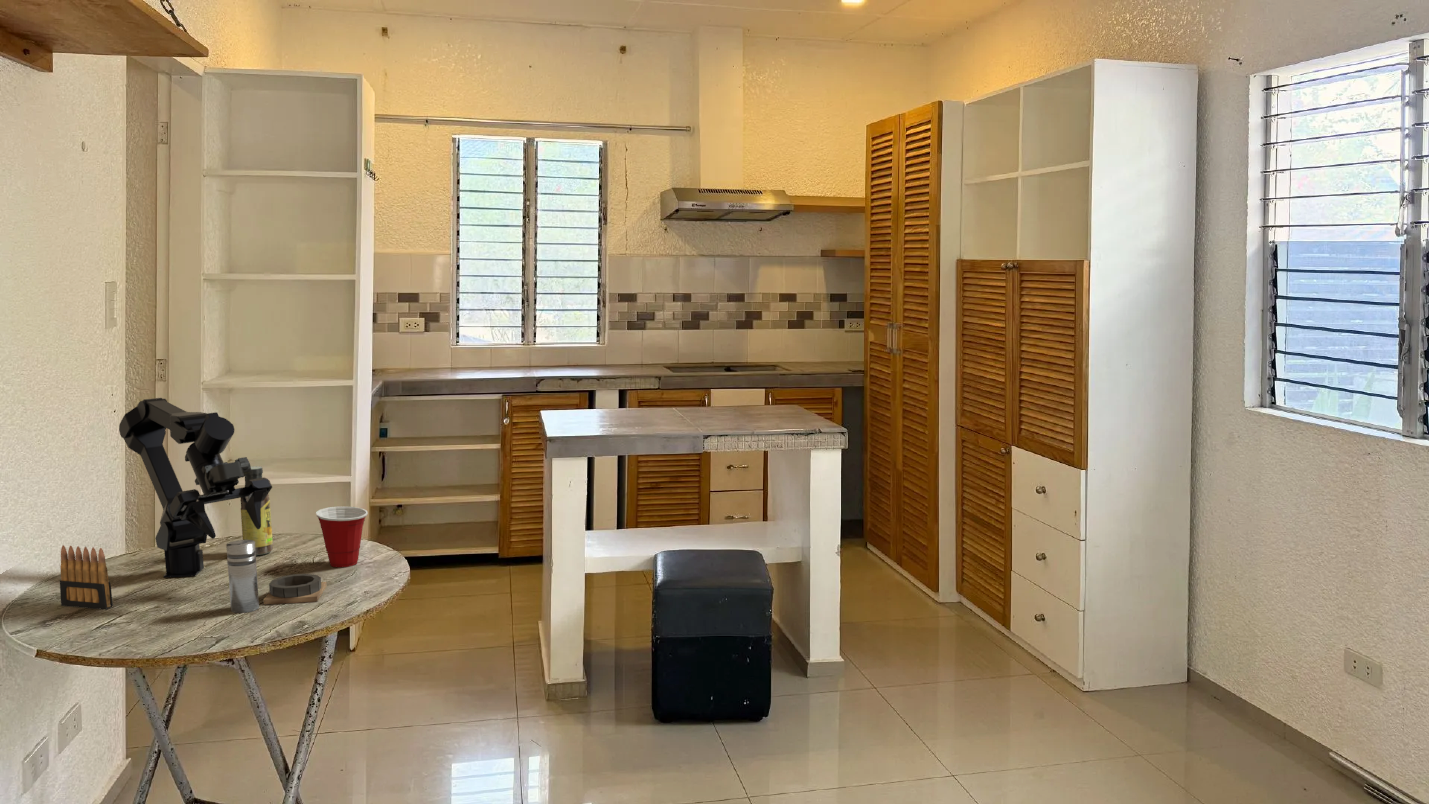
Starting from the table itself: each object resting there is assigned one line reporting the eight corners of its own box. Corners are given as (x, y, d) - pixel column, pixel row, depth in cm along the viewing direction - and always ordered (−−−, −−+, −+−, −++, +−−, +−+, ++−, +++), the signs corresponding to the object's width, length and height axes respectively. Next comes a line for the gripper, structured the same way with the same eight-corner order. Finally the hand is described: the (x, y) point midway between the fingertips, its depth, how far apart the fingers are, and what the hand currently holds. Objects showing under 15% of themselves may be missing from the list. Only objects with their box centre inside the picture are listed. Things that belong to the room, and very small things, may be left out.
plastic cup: (354, 572, 236) (351, 517, 235) (308, 569, 238) (305, 515, 237) (379, 558, 247) (377, 506, 245) (335, 556, 249) (332, 504, 247)
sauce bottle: (275, 554, 251) (269, 468, 248) (245, 558, 248) (239, 471, 245) (271, 548, 256) (265, 463, 254) (242, 551, 253) (236, 466, 251)
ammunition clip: (60, 605, 215) (55, 546, 214) (68, 602, 217) (63, 543, 215) (106, 609, 213) (101, 549, 211) (113, 606, 214) (108, 546, 213)
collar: (263, 604, 215) (262, 589, 215) (275, 589, 225) (274, 574, 224) (317, 601, 217) (316, 586, 216) (326, 586, 226) (325, 572, 226)
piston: (227, 613, 210) (223, 547, 208) (234, 605, 215) (230, 540, 213) (255, 612, 210) (251, 545, 209) (261, 603, 215) (257, 539, 214)
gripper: (174, 452, 211) (203, 521, 206) (266, 439, 225) (295, 503, 221) (157, 483, 218) (185, 550, 213) (248, 468, 232) (276, 531, 227)
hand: (237, 532), depth 218 cm, fingers open, 9 cm apart
